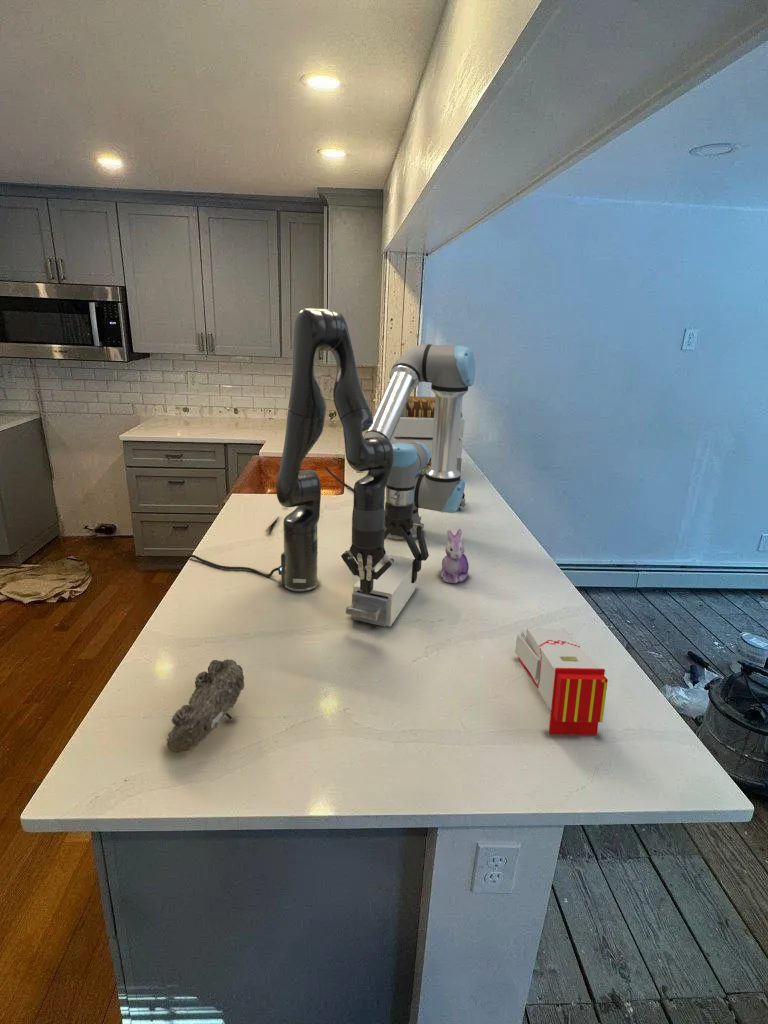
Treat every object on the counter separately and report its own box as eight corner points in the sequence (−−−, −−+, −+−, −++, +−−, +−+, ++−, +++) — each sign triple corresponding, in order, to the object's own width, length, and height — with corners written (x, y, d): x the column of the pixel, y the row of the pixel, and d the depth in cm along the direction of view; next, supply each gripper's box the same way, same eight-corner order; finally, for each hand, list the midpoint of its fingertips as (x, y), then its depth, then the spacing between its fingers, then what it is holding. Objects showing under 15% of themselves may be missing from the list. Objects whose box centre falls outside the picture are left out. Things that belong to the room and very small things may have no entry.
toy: (561, 612, 132) (617, 675, 103) (556, 665, 135) (608, 741, 106) (510, 611, 132) (551, 674, 102) (505, 664, 134) (544, 741, 105)
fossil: (192, 660, 117) (244, 628, 112) (224, 691, 120) (276, 661, 115) (142, 746, 98) (202, 712, 93) (182, 779, 101) (242, 748, 96)
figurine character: (465, 515, 224) (460, 499, 237) (467, 498, 221) (462, 483, 234) (448, 515, 224) (444, 499, 237) (450, 498, 220) (445, 482, 234)
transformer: (382, 463, 289) (386, 382, 275) (445, 464, 293) (451, 384, 279) (390, 482, 257) (394, 392, 243) (460, 483, 261) (468, 394, 247)
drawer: (377, 638, 134) (378, 611, 132) (342, 630, 137) (343, 604, 135) (410, 590, 158) (411, 567, 155) (379, 584, 160) (380, 561, 158)
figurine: (450, 587, 163) (454, 538, 158) (431, 572, 171) (435, 526, 166) (477, 581, 167) (482, 534, 162) (457, 567, 175) (461, 522, 170)
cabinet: (390, 626, 141) (392, 594, 138) (352, 618, 145) (353, 585, 141) (415, 589, 161) (417, 559, 158) (381, 582, 164) (382, 553, 161)
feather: (286, 511, 220) (288, 507, 220) (268, 535, 193) (271, 531, 193) (282, 508, 220) (285, 504, 219) (263, 533, 193) (266, 528, 193)
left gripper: (335, 525, 128) (334, 594, 134) (390, 534, 124) (387, 604, 130) (348, 515, 135) (347, 581, 140) (401, 523, 131) (397, 590, 136)
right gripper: (354, 500, 151) (352, 575, 158) (437, 513, 144) (431, 591, 151) (364, 492, 157) (362, 564, 165) (444, 504, 150) (438, 579, 158)
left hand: (366, 592), depth 135 cm, fingers closed
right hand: (395, 577), depth 158 cm, fingers closed on cabinet, 10 cm apart
